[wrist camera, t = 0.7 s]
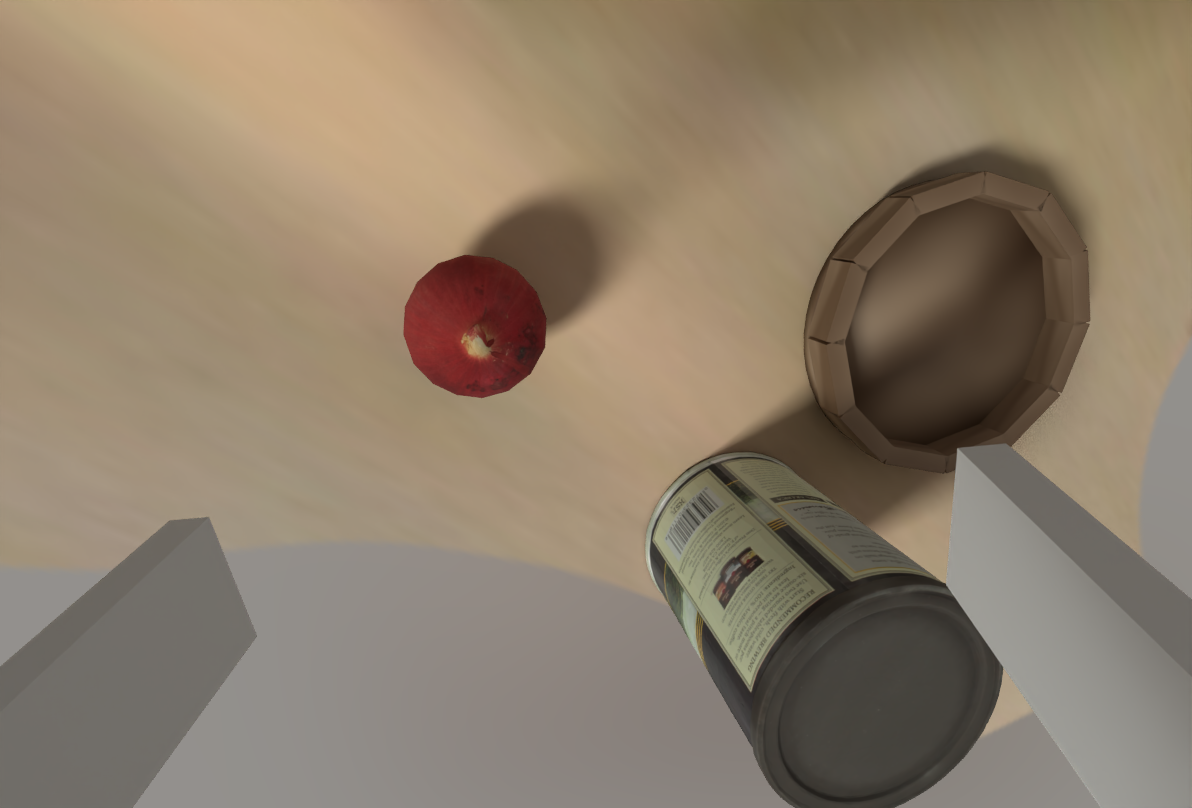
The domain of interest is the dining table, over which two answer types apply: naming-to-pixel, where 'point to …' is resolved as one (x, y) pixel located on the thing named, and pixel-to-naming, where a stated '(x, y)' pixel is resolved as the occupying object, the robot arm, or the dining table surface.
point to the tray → (947, 319)
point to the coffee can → (819, 636)
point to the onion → (474, 326)
